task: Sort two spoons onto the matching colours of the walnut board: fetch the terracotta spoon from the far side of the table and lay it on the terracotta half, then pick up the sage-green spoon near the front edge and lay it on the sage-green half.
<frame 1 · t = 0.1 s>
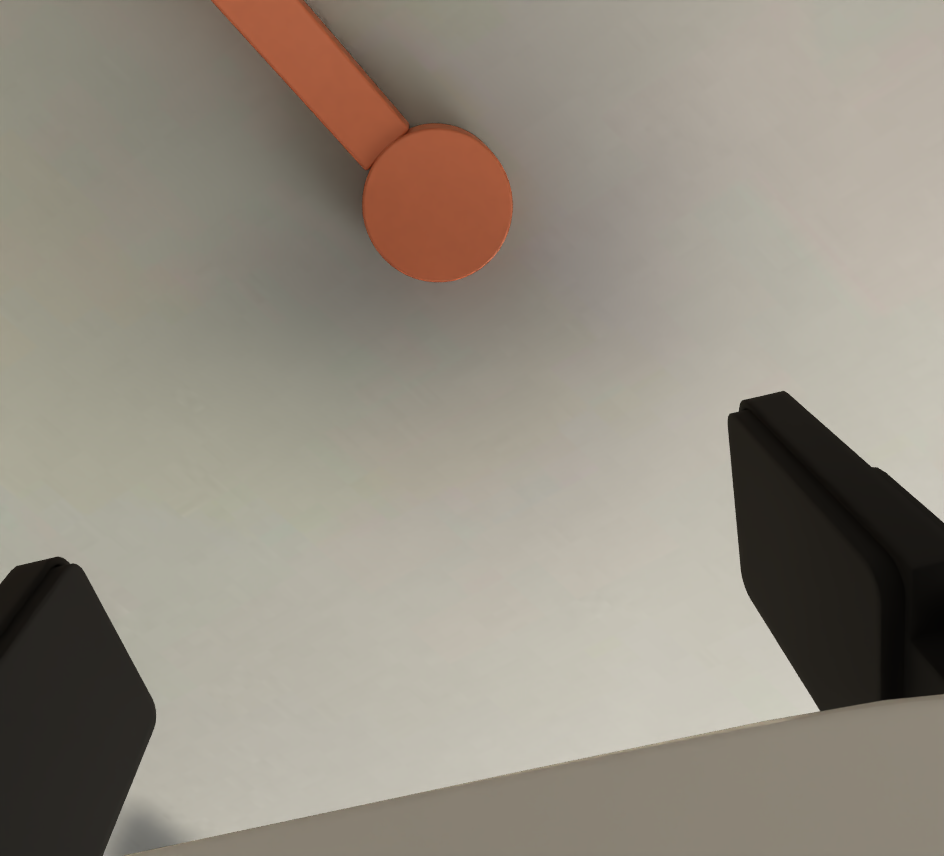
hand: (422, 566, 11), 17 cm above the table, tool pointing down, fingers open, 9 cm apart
spoon terracotta: (331, 78, 24), on the table
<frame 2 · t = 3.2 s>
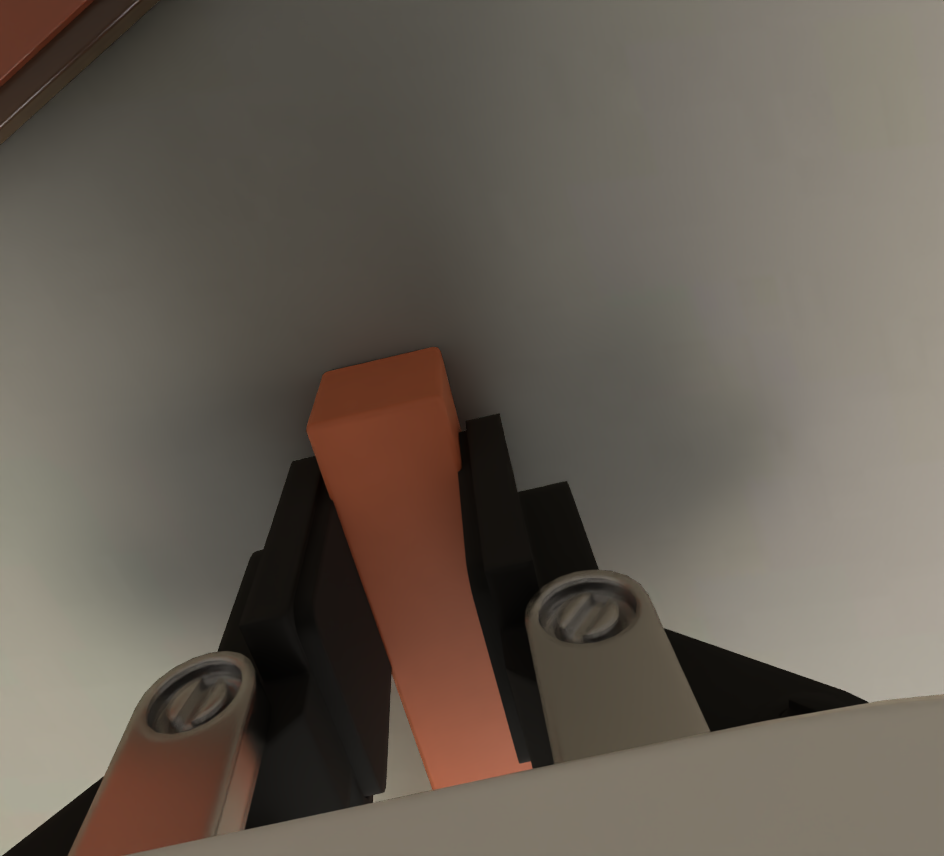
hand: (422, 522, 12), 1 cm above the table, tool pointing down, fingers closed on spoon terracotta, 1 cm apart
spoon terracotta: (480, 701, 14), on the table, touching gripper
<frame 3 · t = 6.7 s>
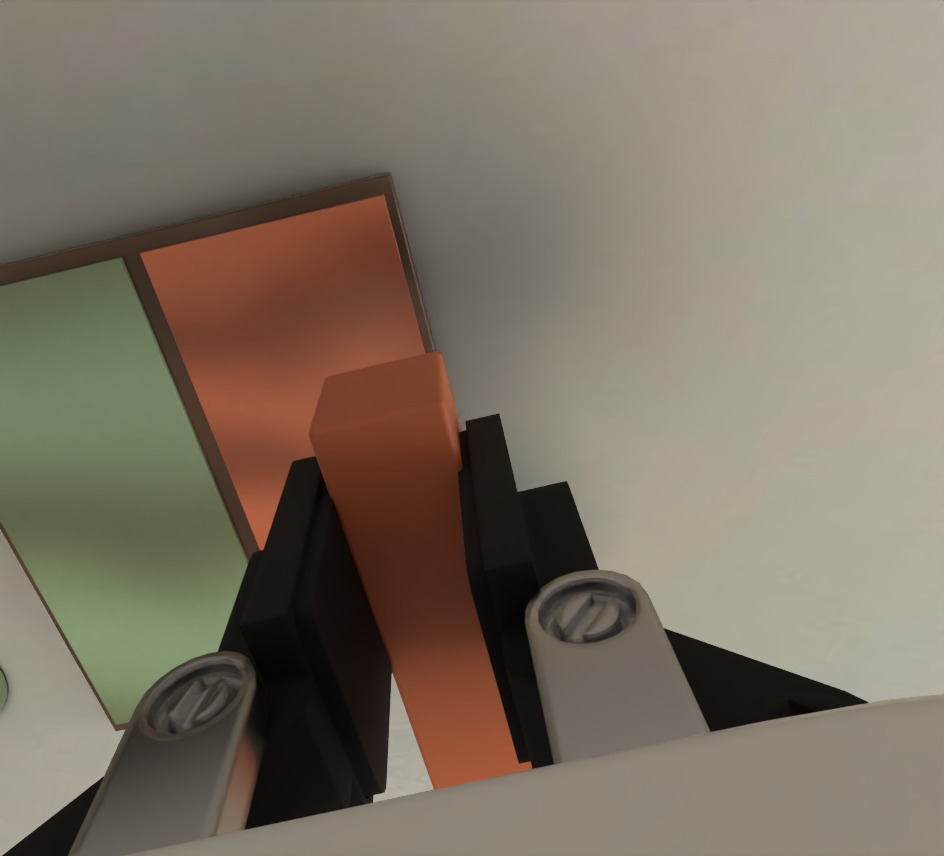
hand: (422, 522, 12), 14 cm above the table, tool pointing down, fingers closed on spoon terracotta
spoon terracotta: (482, 704, 14), point 13 cm above the table, touching gripper
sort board: (235, 487, 27), on the table
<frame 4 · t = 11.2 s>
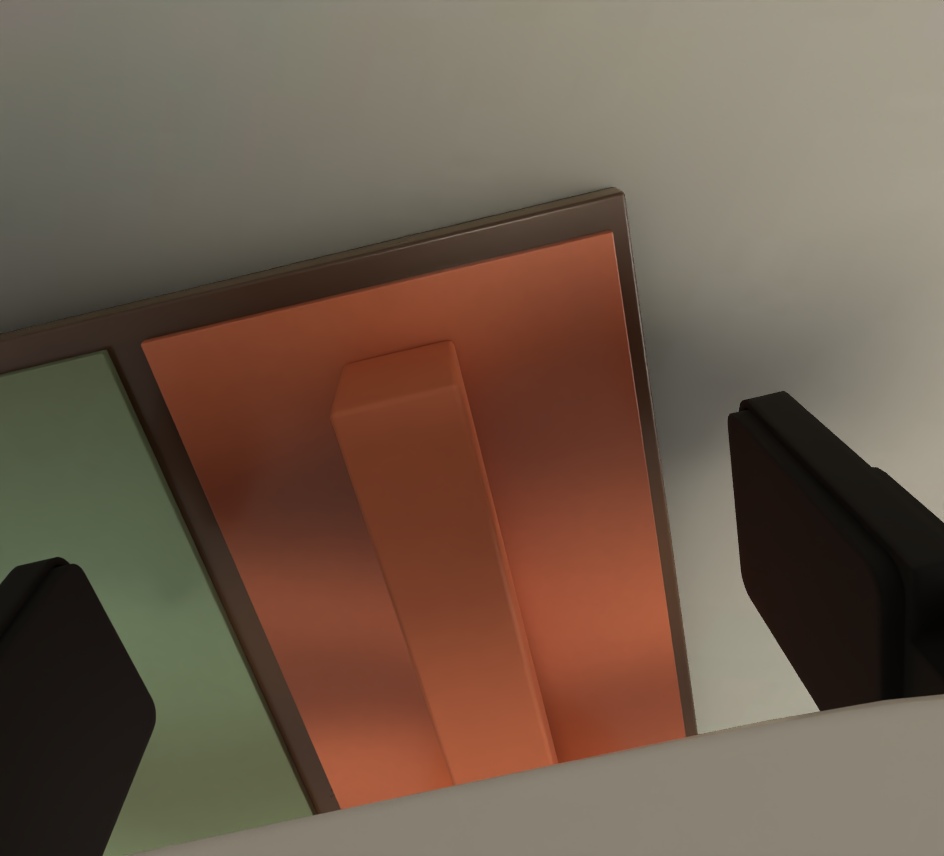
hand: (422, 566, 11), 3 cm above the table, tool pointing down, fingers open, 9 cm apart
spoon terracotta: (490, 681, 15), point 1 cm above the table, touching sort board
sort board: (301, 711, 16), on the table
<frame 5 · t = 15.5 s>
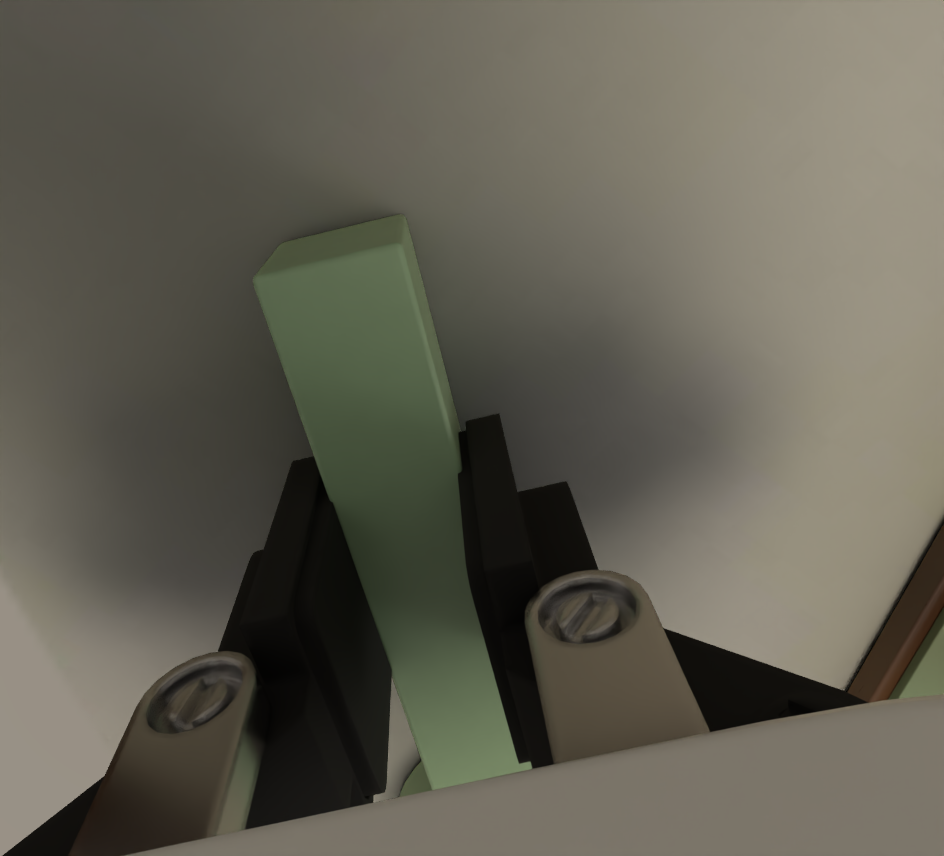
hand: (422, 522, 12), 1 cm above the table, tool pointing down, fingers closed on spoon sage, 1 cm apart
spoon sage: (457, 622, 14), on the table, touching gripper
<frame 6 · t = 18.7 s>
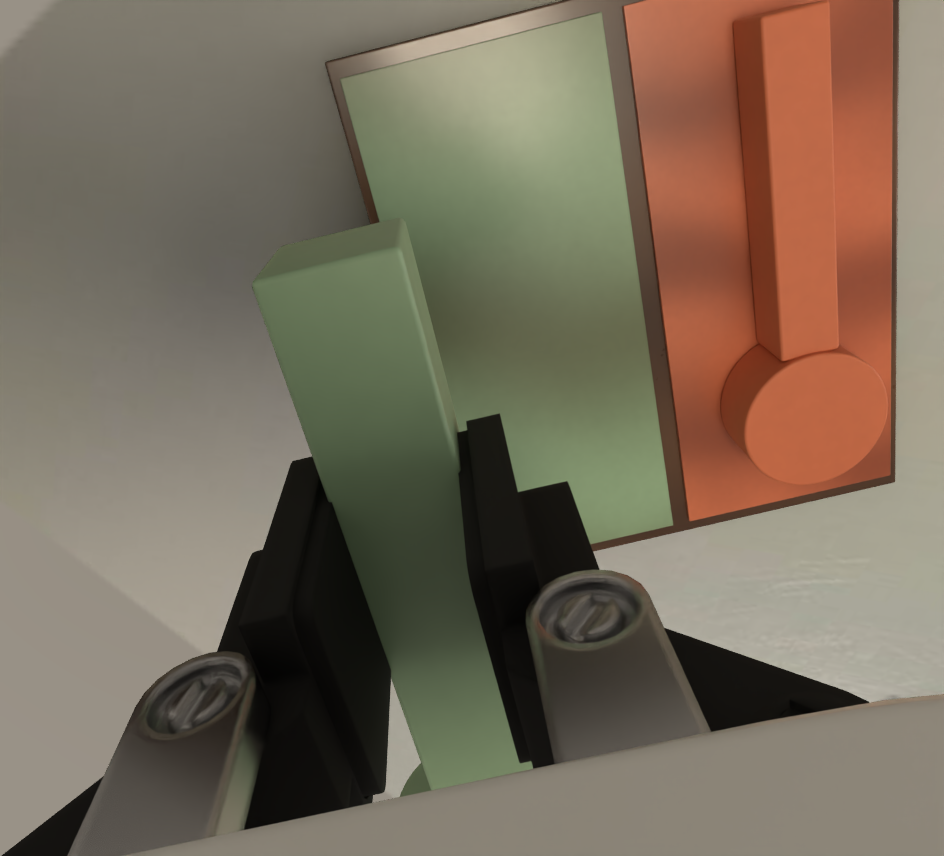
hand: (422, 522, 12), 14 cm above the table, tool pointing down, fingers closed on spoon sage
spoon terracotta: (778, 258, 24), point 1 cm above the table, touching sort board
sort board: (645, 297, 25), on the table
spoon sage: (457, 624, 14), point 14 cm above the table, touching gripper
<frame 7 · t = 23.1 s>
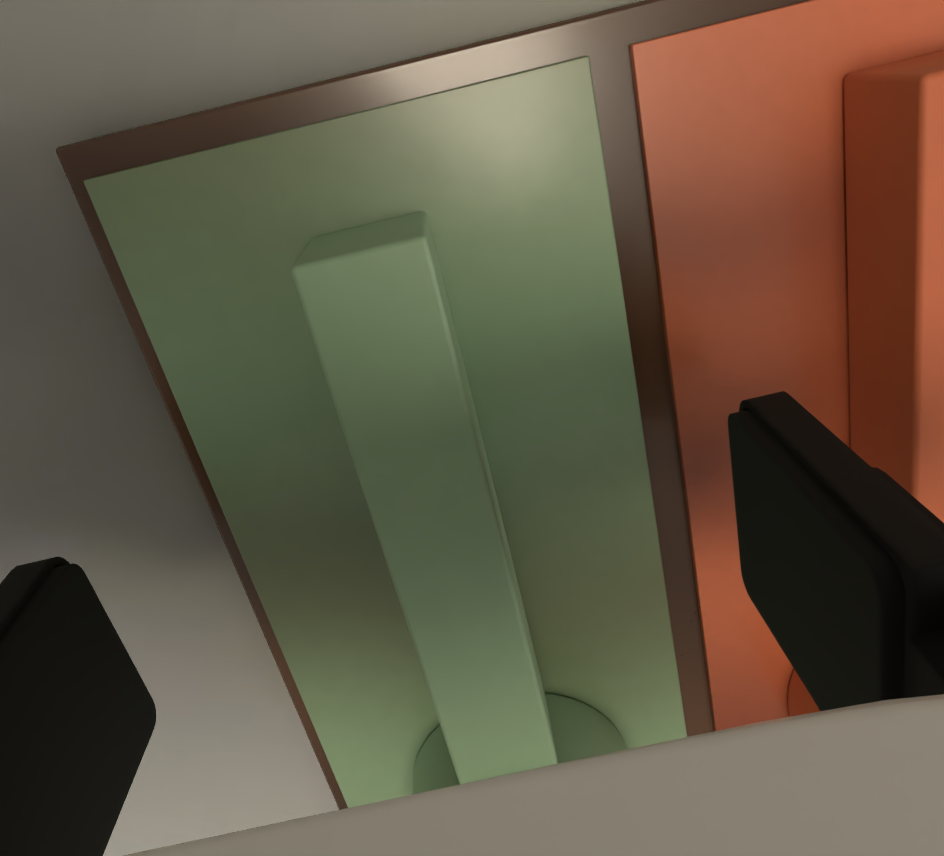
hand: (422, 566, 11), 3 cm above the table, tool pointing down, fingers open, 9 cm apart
spoon terracotta: (899, 479, 14), point 1 cm above the table, touching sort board
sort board: (664, 526, 15), on the table
spoon sage: (471, 594, 14), point 1 cm above the table, touching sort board
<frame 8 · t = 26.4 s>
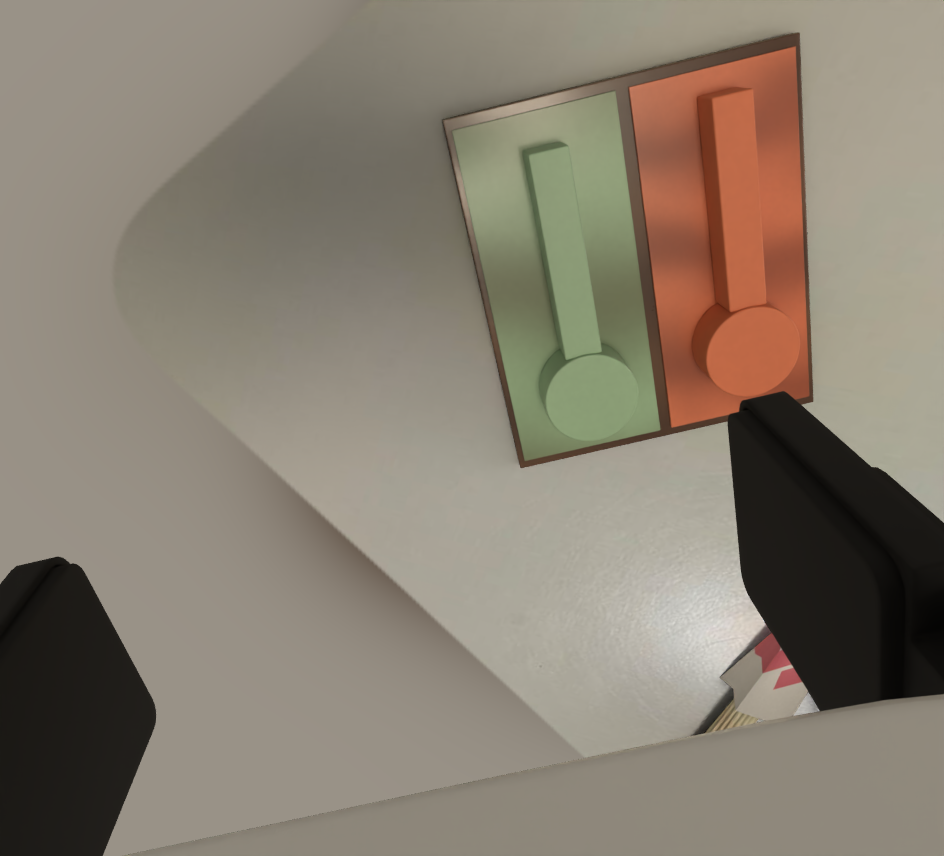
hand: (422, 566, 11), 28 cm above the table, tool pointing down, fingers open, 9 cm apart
spoon terracotta: (728, 246, 37), point 1 cm above the table, touching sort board
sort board: (642, 271, 38), on the table
spoon sage: (567, 293, 38), point 1 cm above the table, touching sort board
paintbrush: (740, 687, 51), on the table
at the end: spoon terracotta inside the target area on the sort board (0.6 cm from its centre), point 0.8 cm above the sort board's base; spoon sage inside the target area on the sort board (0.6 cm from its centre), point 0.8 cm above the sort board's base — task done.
